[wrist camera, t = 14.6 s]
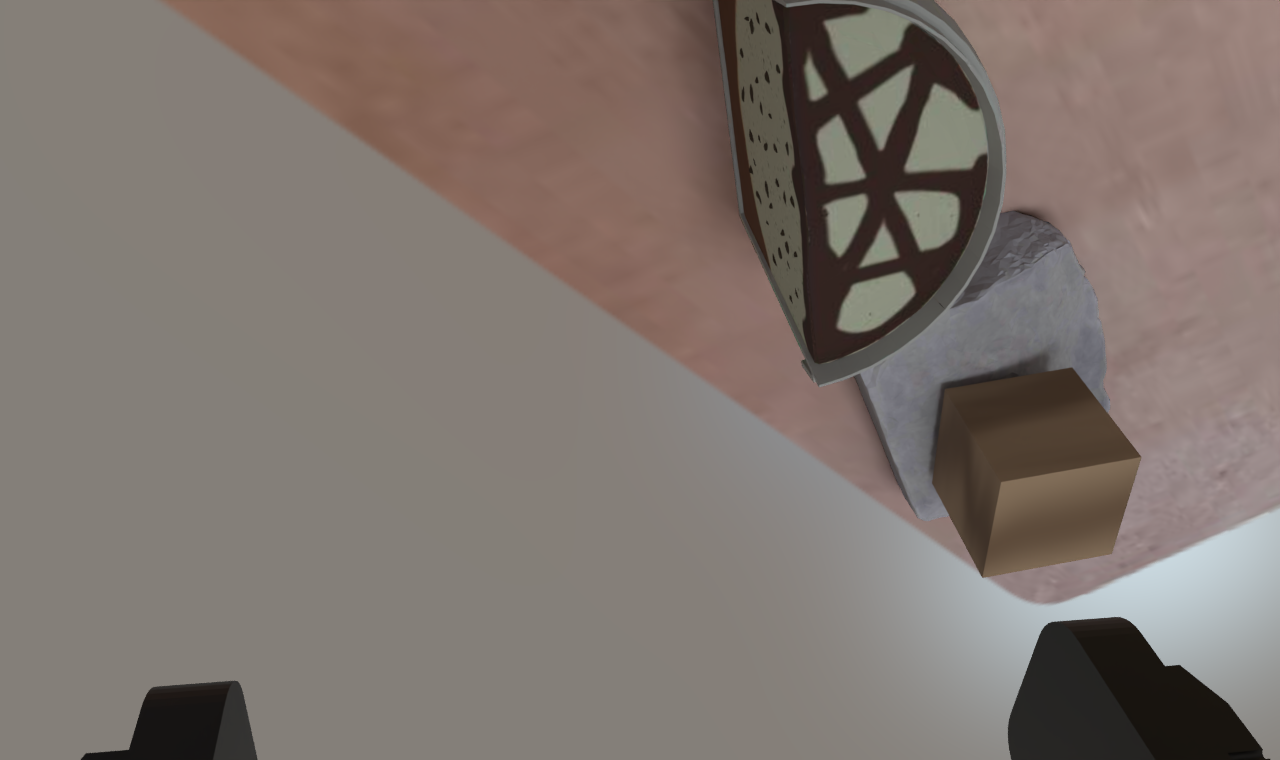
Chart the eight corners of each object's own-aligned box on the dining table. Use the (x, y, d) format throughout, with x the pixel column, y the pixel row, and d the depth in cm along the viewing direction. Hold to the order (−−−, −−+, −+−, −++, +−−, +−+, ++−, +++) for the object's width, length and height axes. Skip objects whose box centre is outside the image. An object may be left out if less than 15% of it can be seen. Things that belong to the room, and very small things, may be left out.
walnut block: (944, 388, 40) (1001, 482, 36) (1072, 367, 40) (1141, 456, 37) (931, 483, 43) (982, 577, 39) (1050, 462, 44) (1111, 553, 40)
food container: (902, 216, 40) (1019, 357, 32) (743, 251, 40) (820, 402, 32) (892, -137, 33) (1038, -74, 25) (700, -97, 33) (783, -19, 25)
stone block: (1010, 165, 42) (797, 301, 42) (1094, 208, 38) (860, 358, 38) (1065, 376, 49) (884, 494, 49) (1141, 430, 45) (944, 559, 45)
